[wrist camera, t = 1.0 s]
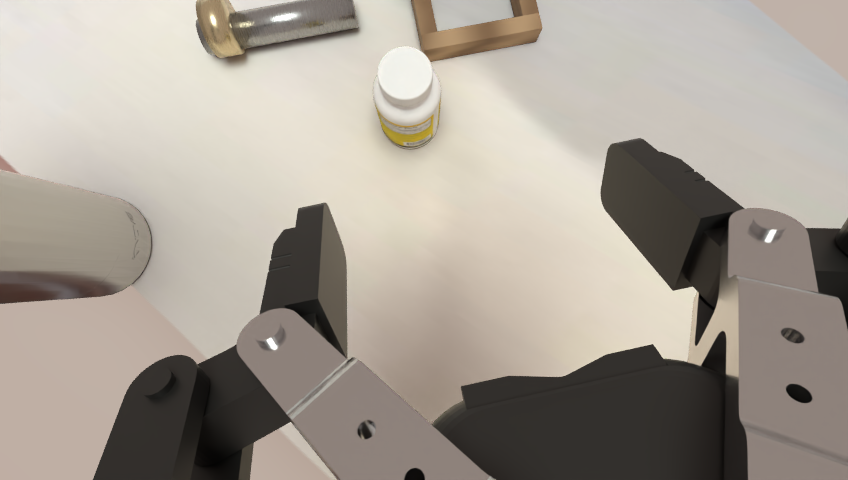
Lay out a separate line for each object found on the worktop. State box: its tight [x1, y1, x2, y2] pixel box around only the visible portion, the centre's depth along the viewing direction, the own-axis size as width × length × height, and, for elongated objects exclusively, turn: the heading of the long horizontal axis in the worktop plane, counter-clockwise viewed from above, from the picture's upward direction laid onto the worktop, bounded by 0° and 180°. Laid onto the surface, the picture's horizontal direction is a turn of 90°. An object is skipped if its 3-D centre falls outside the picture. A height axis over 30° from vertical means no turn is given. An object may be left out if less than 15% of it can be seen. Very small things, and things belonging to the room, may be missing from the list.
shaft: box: [196, 0, 358, 58], centre depth 37 cm, size 14×5×5 cm, turn 101°
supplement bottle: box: [373, 46, 441, 149], centre depth 34 cm, size 5×5×10 cm
